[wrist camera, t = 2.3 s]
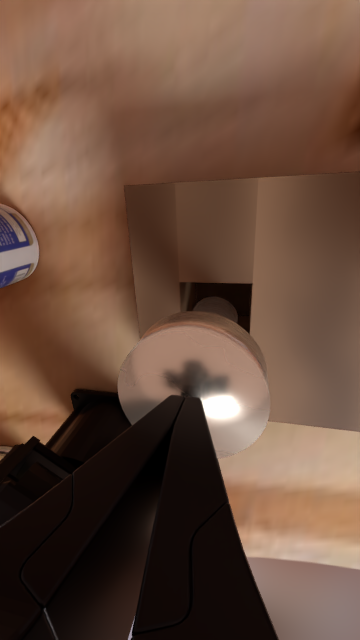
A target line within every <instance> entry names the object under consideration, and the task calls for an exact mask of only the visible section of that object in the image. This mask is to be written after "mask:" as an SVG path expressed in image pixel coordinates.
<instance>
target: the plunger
mask: <svg viewBox="0 0 360 640" xmlns="http://www.w3.org/2000/svg"><path fill="white" fill-rule="evenodd" d="M237 321H238V316H237V312H236V310H235V308H234V306H233V305H232V304H231V303H230V302H229V301H227V300H226V299H224V298H221V297H215V296H212V297H207V298H204V299H202V300H200V301H199V302H198V303H197V304H196V305H195V307H194V309H193V311H185V312H179V313H175V314H172V315H169V316H167V317H164V318H162V319H161V320H159V321H157V322H156V323H155V324H153V325H152V326H151V327H150V328H149V329H148V330H147V331H146V332H145V334H144V335H143V336H142V338H141V339H140V340H139V341H138V343H137V344H136V345H135V347H134V348H133V349H132V350H131V352H130V353H129V354H128V356H127V357H126V359H125V360H124V362H123V364H122V366H121V369H120V372H119V376H118V385H117V387H118V396H119V400H120V404H121V406H122V409H123V411H124V413H125V415H126V417H127V418H128V420H129V421H130V423H131V424H132V425H133V424H134V423H136V422H137V421H138V420H139V419H141V418H142V417H143V416H145V415H146V414H147V413H148V412H150V411H151V410H152V409H153V408H155V407H156V406H157V405H158V404H160V403H161V402H162V401H163V400H165V399H166V398H167V397H168V396H170V395H180V396H184V397H185V398H186V397H188V396H190V397H199V398H201V401H202V404H203V408H204V412H205V415H206V419H207V423H208V426H209V430H210V433H211V437H212V441H213V444H214V448H215V452H216V455H217V459H220V458H224V457H228V456H231V455H234V454H237V453H239V452H241V451H243V450H244V449H246V448H247V447H249V446H250V445H252V444H253V443H254V442H255V441H256V440H257V439H258V438H259V436H260V435H261V434H262V432H263V430H264V429H265V427H266V424H267V422H268V419H269V413H270V395H269V385H268V374H267V366H266V362H265V358H264V355H263V353H262V351H261V349H260V347H259V346H258V344H257V343H256V341H255V340H254V339H253V337H252V336H251V335H250V334H249V333H248V332H247V331H246V330H244V329H243V328H242V327H241V326H239V325H238V324H237Z"/></svg>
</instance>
